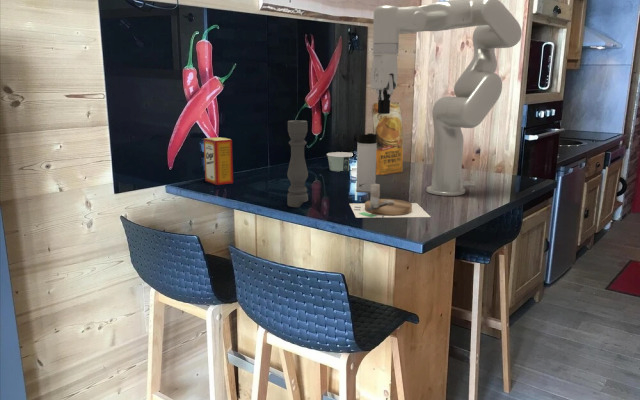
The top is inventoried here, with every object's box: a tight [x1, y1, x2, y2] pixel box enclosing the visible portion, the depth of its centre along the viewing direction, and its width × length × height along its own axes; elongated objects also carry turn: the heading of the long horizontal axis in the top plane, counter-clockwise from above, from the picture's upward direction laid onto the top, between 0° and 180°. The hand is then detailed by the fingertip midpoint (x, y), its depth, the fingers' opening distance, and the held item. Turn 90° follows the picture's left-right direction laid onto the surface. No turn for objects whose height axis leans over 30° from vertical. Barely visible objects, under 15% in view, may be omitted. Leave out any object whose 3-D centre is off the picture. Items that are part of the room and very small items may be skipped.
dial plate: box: [349, 202, 431, 219], centre depth 151 cm, size 20×16×2 cm
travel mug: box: [355, 132, 377, 194], centre depth 178 cm, size 6×7×20 cm
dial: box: [364, 183, 412, 215], centre depth 149 cm, size 16×13×8 cm
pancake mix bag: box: [371, 102, 404, 176], centre depth 215 cm, size 7×19×28 cm, turn 130°
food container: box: [326, 151, 353, 172], centre depth 224 cm, size 12×12×6 cm
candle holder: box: [286, 119, 309, 208], centre depth 160 cm, size 6×6×25 cm
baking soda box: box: [203, 136, 234, 186], centre depth 195 cm, size 10×6×16 cm
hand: (383, 113), depth 163 cm, fingers closed
